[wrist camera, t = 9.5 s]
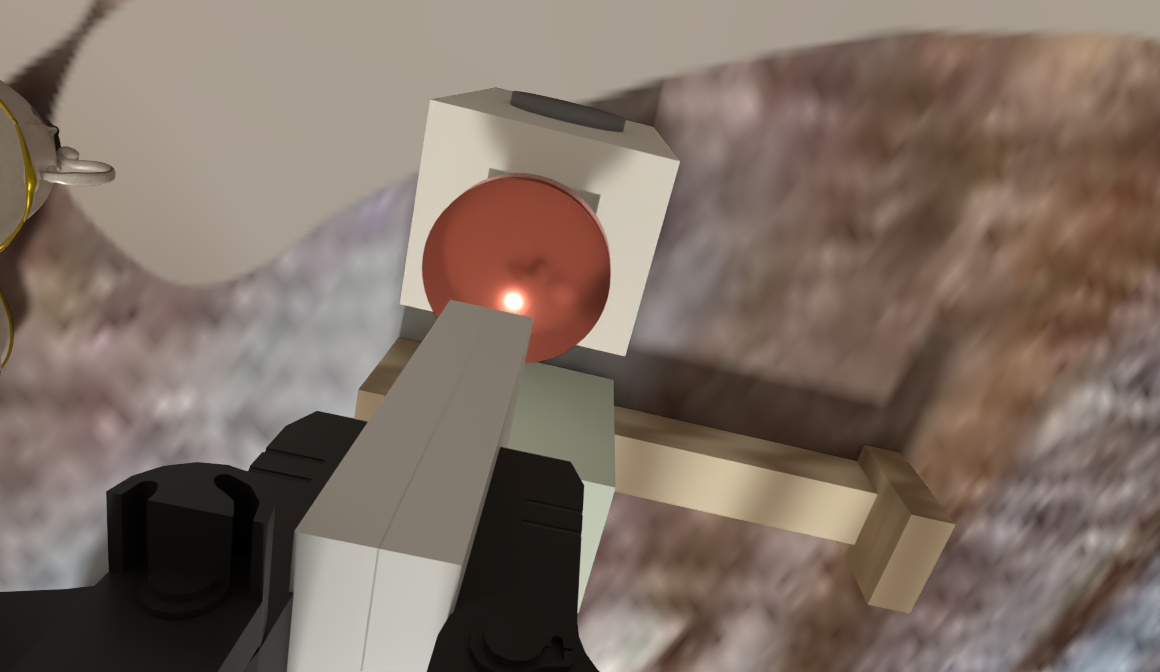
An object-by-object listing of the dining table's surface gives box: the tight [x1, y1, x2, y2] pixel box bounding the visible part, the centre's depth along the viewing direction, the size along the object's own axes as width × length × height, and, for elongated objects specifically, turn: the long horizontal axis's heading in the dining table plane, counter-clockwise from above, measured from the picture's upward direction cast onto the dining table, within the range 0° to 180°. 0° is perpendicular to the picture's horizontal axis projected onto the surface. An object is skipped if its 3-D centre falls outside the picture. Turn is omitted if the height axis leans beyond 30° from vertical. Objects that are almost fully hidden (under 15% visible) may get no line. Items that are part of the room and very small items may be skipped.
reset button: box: [422, 173, 611, 363], centre depth 18 cm, size 4×4×4 cm
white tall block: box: [400, 88, 680, 356], centre depth 26 cm, size 7×6×12 cm
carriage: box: [507, 362, 616, 613], centre depth 31 cm, size 7×6×10 cm
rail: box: [355, 338, 956, 614], centre depth 33 cm, size 26×5×6 cm, turn 77°
